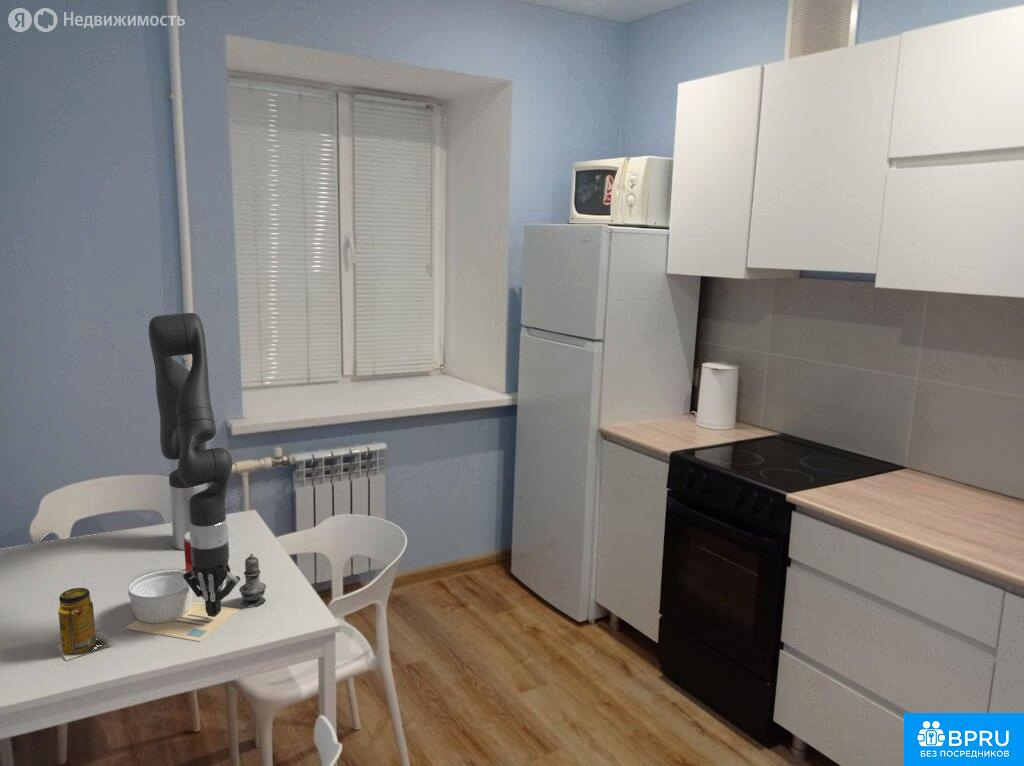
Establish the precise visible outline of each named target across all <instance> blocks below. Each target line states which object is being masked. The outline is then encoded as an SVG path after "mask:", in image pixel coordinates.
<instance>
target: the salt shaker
mask: <svg viewBox="0 0 1024 766" xmlns="http://www.w3.org/2000/svg"><path fill="white" fill-rule="evenodd" d="M244 564H245V565H244V567H245V571H244V572H243V575H244V576H245V577H244V578H245V581H244V582H245V583H244V584H242V585H241V586H240V587H239V590H238V591H239V592H240V595H241V597H242V598H243V599H242V600H241V606H242V607H243V606H244V608H246V607H247V609H254V608H253V607H255V608H258V606H259V607H260V605H261V606H263V605H264V604H265V603H266V598H265V597H263V596H264V595H265V591H266V589H267V584H265V583H264V582H261V580H260V574H261V570H260V568H259V567H260V566H259V564H260V563H259V559H258V557H256V556H254V554H253V553H250V555H249V556H247V558H246V559H245V561H244ZM264 602H265V603H264ZM262 604H263V605H262Z"/></svg>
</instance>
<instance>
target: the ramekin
mask: <svg viewBox="0 0 1024 766" xmlns="http://www.w3.org/2000/svg"><path fill="white" fill-rule="evenodd" d="M185 573H186V570H185V571H184V570H178V569H177V570H176V569H170V570H169V569H168V570H166V569H165V570H160V571H154V572H151V573H147V574H145V575H142V576H140V577H138V578H136V579H135V580H133V581H132V582H131V583H130V584H129V585H128V589H127V592H128V593H127V594H128V597H129V599H130V603H131V608H132V612H133V614H134V616H135V617H136V619H137V620H138V619H139V620H140V621H142V622H145V623H165V622H169V621H172V620H175V619H178V618H180V617H181V616H183V615H184V614H186V613H187V611H188V610H189V609H190V607H191V604H192V602H193V594H194V592H193V590H192V589H191V587H190V586H189V585H188V583H187V582H186V580H185V579H184V578H183V575H184V574H185Z"/></svg>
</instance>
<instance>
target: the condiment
mask: <svg viewBox="0 0 1024 766" xmlns="http://www.w3.org/2000/svg"><path fill="white" fill-rule="evenodd" d="M90 593H91V592H90V590H89V589H88V588H86V587H73V588H71V589H67V590H65V591H63V592H62V593H61V594H59V597H58V600H59V608H58V619H59V630H60V641H61V643H60V644H57V645H56V647H57V649H58V650H59V652H60V654H61V655H62V657H63V659H64V660H65V661H69V660H71V659H75V658H76V659H77V658H78V657H81V656H84V655H88V654H90V653H92V652H96V651H99V650H102V649H104V648H107V647H110V646H113V644H112V643H111V642H110V640H109V639H108V638H107V635H105V633H104V632H103V631H100V632H99V631H98V632H96V625H95V623H96V622H95V613H94V603H93V601H92V600H91V596H90V595H91V594H90ZM96 639H97V640H96ZM96 645H98V646H99V645H102V646H99V647H97V646H96ZM94 647H97V649H94ZM93 649H94V650H93Z"/></svg>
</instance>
